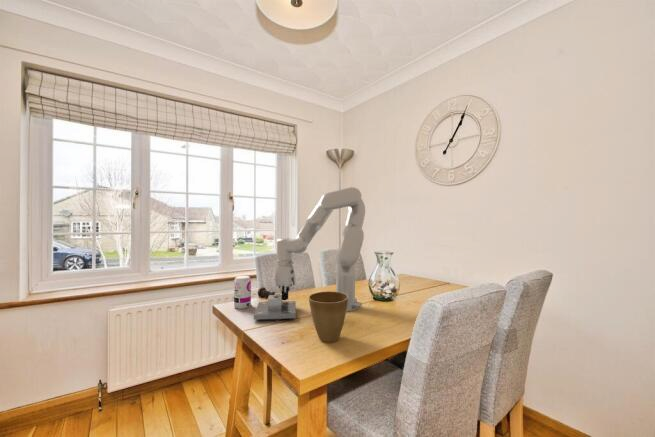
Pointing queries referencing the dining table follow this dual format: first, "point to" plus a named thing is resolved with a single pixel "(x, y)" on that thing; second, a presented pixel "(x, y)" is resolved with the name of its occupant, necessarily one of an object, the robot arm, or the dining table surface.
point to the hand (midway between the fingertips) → (285, 299)
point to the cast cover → (274, 302)
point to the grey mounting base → (286, 310)
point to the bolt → (264, 292)
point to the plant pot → (328, 314)
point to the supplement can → (242, 292)
